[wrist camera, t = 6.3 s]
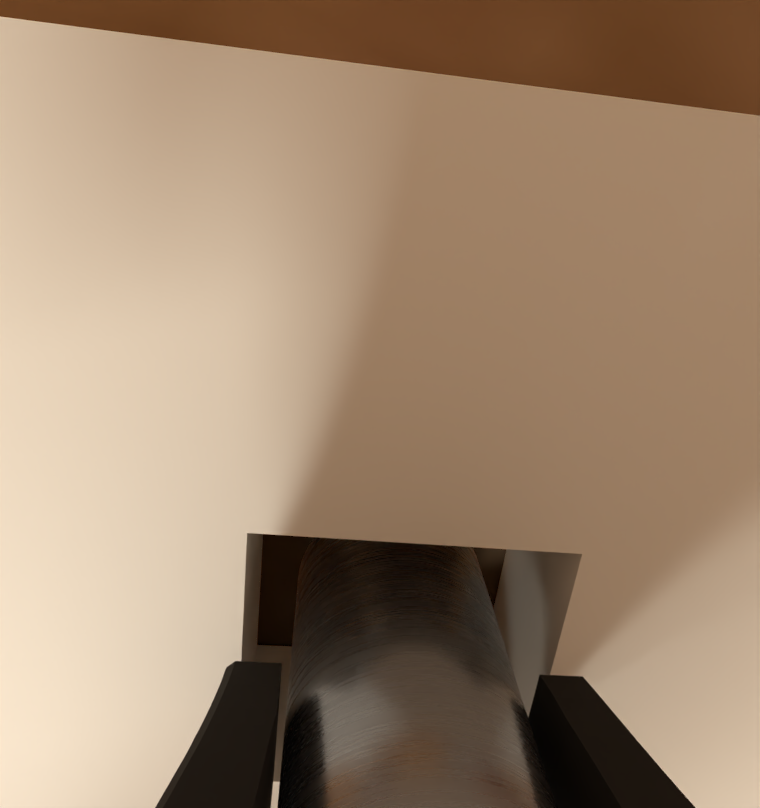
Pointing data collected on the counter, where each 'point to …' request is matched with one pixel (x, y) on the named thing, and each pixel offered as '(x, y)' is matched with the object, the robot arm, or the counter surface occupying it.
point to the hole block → (365, 386)
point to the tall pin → (402, 685)
